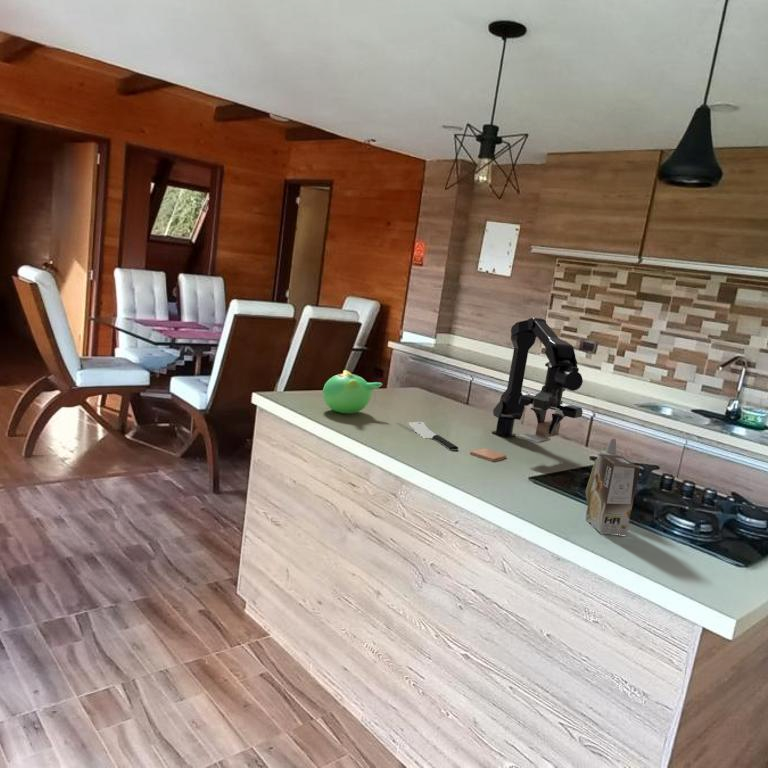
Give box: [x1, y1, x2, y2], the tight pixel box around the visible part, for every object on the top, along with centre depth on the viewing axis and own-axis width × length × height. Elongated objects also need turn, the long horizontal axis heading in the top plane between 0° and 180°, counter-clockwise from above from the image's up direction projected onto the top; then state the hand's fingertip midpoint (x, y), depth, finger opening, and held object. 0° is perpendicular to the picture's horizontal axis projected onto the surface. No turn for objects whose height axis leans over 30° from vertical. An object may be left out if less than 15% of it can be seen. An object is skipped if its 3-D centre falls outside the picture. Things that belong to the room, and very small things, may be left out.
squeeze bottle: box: [585, 437, 621, 504], centre depth 156 cm, size 8×8×18 cm
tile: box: [469, 447, 507, 463], centre depth 192 cm, size 1×8×8 cm
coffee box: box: [585, 453, 641, 536], centre depth 143 cm, size 9×6×16 cm
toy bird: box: [322, 369, 383, 415], centre depth 222 cm, size 18×17×15 cm
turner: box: [516, 419, 561, 444], centre depth 194 cm, size 18×7×4 cm, turn 140°
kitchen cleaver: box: [408, 421, 459, 452], centre depth 206 cm, size 31×2×10 cm
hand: (545, 432), depth 196 cm, fingers closed on turner, 3 cm apart
